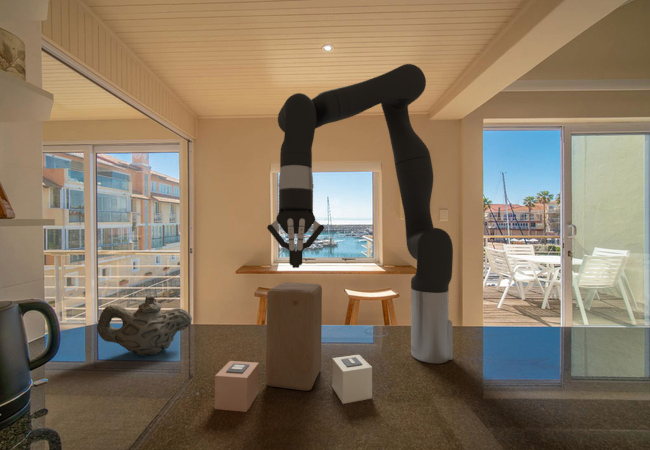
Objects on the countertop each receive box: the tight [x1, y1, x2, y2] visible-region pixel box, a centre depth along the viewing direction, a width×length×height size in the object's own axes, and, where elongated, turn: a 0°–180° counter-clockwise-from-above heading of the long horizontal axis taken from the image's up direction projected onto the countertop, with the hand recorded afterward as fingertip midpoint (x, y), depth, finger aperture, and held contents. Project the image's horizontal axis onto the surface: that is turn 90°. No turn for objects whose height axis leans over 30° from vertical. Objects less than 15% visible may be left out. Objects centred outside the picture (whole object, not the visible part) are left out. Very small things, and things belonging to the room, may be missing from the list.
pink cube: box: [214, 360, 260, 413], centre depth 54 cm, size 6×6×6 cm
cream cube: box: [331, 354, 373, 405], centre depth 57 cm, size 6×6×6 cm
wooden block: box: [265, 281, 323, 392], centre depth 63 cm, size 10×10×20 cm
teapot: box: [96, 295, 193, 356], centre depth 75 cm, size 21×12×15 cm, turn 115°
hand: (295, 267), depth 63 cm, fingers closed
